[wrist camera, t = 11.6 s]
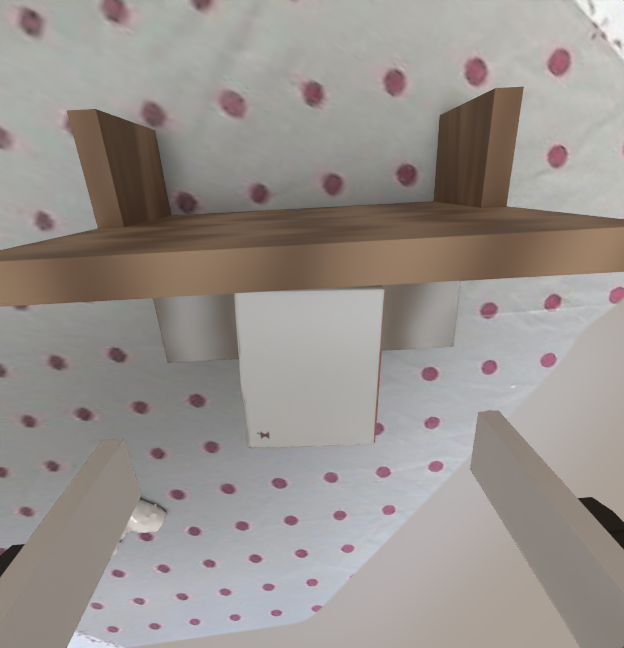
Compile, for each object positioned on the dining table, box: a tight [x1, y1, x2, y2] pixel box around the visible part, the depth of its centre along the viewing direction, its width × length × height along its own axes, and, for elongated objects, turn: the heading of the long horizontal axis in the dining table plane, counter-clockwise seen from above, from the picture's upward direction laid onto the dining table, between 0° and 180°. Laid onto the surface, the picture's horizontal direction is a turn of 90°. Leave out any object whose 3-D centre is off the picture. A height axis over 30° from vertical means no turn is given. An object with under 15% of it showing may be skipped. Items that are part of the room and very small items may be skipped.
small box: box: [234, 285, 385, 448], centre depth 22 cm, size 8×6×13 cm
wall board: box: [0, 87, 624, 363], centre depth 21 cm, size 24×18×18 cm
